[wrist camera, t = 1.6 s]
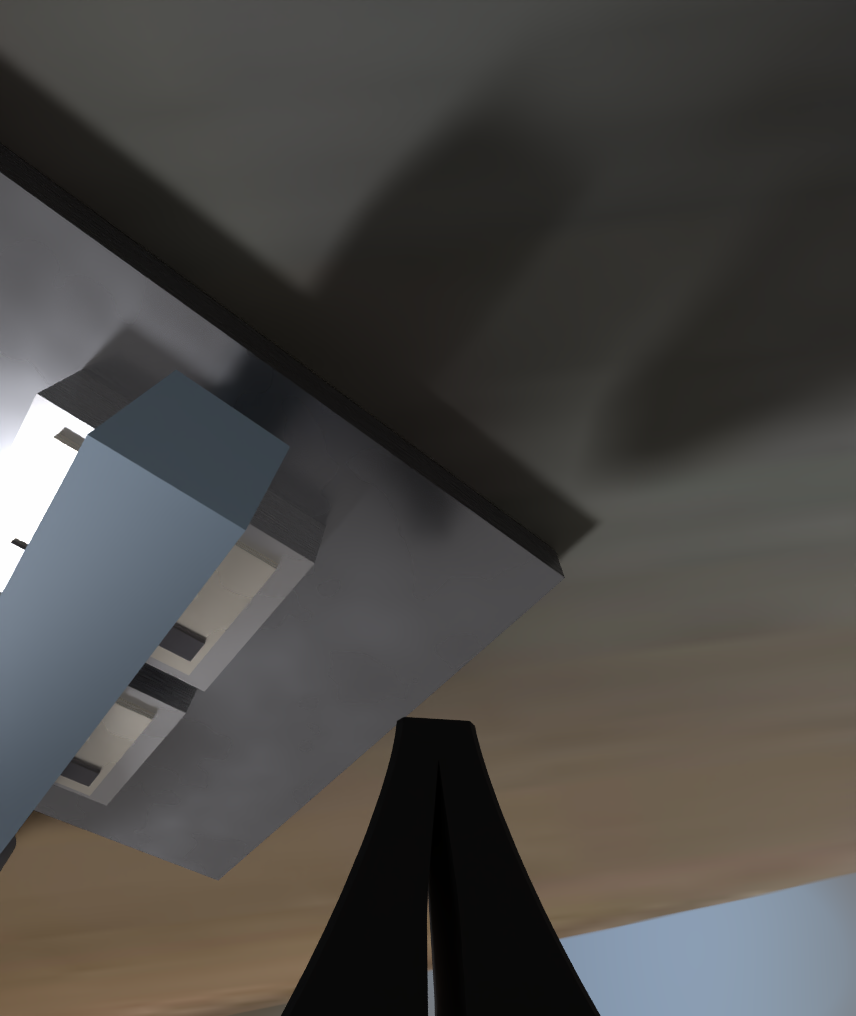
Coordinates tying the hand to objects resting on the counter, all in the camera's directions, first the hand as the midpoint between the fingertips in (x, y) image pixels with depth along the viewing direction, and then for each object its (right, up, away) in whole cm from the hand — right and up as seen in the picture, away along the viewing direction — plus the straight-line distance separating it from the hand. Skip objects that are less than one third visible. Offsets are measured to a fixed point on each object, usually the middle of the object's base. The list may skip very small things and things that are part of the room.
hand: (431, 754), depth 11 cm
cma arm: (-9, 0, +3) cm, 9 cm away
